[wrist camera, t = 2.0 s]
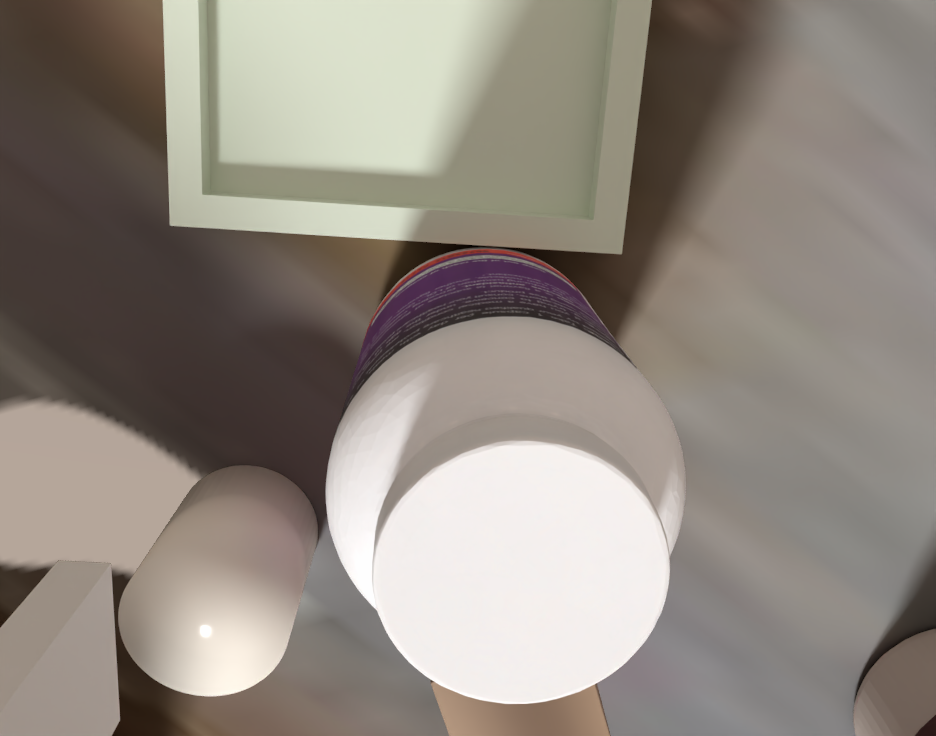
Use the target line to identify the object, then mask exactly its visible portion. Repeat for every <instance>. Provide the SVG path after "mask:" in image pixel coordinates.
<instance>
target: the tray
mask: <svg viewBox="0 0 936 736" xmlns="http://www.w3.org/2000/svg"><path fill="white" fill-rule="evenodd" d="M651 5H652V0H163V24H164V56H165V88H166V120H167V152H168V184H169V215H170V226H182V227H198V228H214V229H229V230H245V231H261V232H277V233H292V234H308V235H324V236H340V237H356V238H371V239H387V240H403V241H419V242H435V243H450V244H466V245H482V246H498V247H513V248H529V249H545V250H561V251H577V252H592V253H608V254H622V249H623V240H624V232H625V223H626V215H627V207H628V198H629V190H630V181H631V173H632V165H633V156H634V148H635V139H636V131H637V123H638V114H639V106H640V97H641V89H642V81H643V72H644V64H645V55H646V47H647V38H648V30H649V22H650V13H651Z"/></svg>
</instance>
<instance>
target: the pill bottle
mask: <svg viewBox="0 0 936 736" xmlns="http://www.w3.org/2000/svg"><path fill="white" fill-rule="evenodd" d="M685 494H686V478H685V465H684V459H683V453H682V448H681V444H680V441H679V438H678V434H677V432H676V429H675V427H674V424H673V422H672V420H671V417H670V415H669V413H668V411H667V409H666V407H665V406H664V404H663V402H662V401H661V399H660V397H659V396H658V395H657V393H656V392H655V390H654V389H653V388H652V386H651V385H650V384H649V382H648V381H647V380H646V379H645V377H644V376H643V375H642V374H641V372H640V371H639V370H638V369H637V367H636V366H635V365H634V363H633V362H632V361H631V360H630V358H629V357H628V356H627V354H626V353H625V352H624V350H623V349H622V348H621V347H620V345H619V344H618V343H617V341H616V340H615V339H614V337H613V336H612V335H611V333H610V332H609V331H608V329H607V328H606V327H605V325H604V324H603V322H602V321H601V320H600V318H599V317H598V315H597V314H596V313H595V311H594V310H593V309H592V307H591V306H590V304H589V303H588V301H587V300H586V299H585V297H584V296H583V295H582V293H581V292H580V291H579V290H578V289H577V288H576V287H575V285H574V284H573V283H572V282H571V281H570V280H569V279H568V278H566V277H565V276H564V275H563V274H562V273H560V272H559V271H558V270H556V269H555V268H553V267H552V266H550V265H549V264H547V263H545V262H543V261H542V260H540V259H537V258H535V257H533V256H530V255H528V254H525V253H522V252H519V251H515V250H510V249H505V248H498V247H474V248H464V249H459V250H455V251H451V252H448V253H445V254H442V255H439V256H437V257H434V258H432V259H430V260H428V261H426V262H424V263H422V264H421V265H419V266H417V267H416V268H414V269H413V270H411V271H410V272H409V273H408V274H406V275H405V276H404V277H403V278H402V279H400V280H399V281H398V282H397V283H396V285H395V286H394V287H393V288H392V289H391V290H390V292H389V293H388V294H387V295H386V296H385V298H384V299H383V301H382V302H381V303H380V305H379V306H378V308H377V310H376V312H375V314H374V316H373V318H372V320H371V322H370V324H369V327H368V329H367V332H366V335H365V339H364V342H363V346H362V349H361V353H360V356H359V359H358V362H357V365H356V369H355V372H354V375H353V379H352V382H351V385H350V389H349V392H348V395H347V398H346V402H345V405H344V408H343V412H342V415H341V418H340V421H339V424H338V427H337V430H336V434H335V437H334V440H333V444H332V447H331V453H330V458H329V462H328V470H327V477H326V507H327V516H328V523H329V528H330V532H331V535H332V538H333V542H334V545H335V548H336V550H337V553H338V555H339V558H340V560H341V562H342V564H343V566H344V568H345V570H346V571H347V573H348V575H349V577H350V578H351V580H352V581H353V583H354V584H355V586H356V587H357V589H358V590H359V591H360V593H361V594H362V595H363V596H364V597H365V598H366V599H367V600H368V602H369V603H370V604H371V605H372V606H373V607H374V608H375V609H376V610H377V611H378V614H379V616H380V619H381V621H382V623H383V625H384V628H385V630H386V632H387V634H388V635H389V637H390V639H391V640H392V642H393V643H394V645H395V646H396V648H397V649H398V650H399V651H400V652H401V654H402V655H403V656H404V657H405V658H406V659H407V660H408V662H409V663H411V664H412V665H413V666H414V667H415V668H416V669H418V670H419V671H420V672H421V673H423V674H424V675H425V676H426V677H428V678H429V679H431V680H432V681H434V682H436V683H437V684H439V685H440V686H443V687H445V688H447V689H450V690H452V691H454V692H457V693H459V694H461V695H464V696H467V697H471V698H475V699H478V700H483V701H489V702H496V703H503V704H529V703H538V702H546V701H550V700H554V699H558V698H562V697H565V696H568V695H571V694H574V693H577V692H580V691H582V690H584V689H586V688H588V687H590V686H592V685H594V684H596V683H598V682H599V681H601V680H603V679H604V678H606V677H608V676H609V675H611V674H612V673H614V672H615V671H616V670H617V669H619V668H620V667H621V666H622V665H624V664H625V663H626V662H627V661H628V660H629V659H630V658H631V657H632V656H633V655H634V653H635V652H636V651H637V650H638V649H639V648H640V647H641V646H642V644H643V643H644V642H645V641H646V639H647V638H648V636H649V635H650V633H651V632H652V630H653V628H654V626H655V624H656V622H657V620H658V618H659V616H660V614H661V612H662V609H663V606H664V603H665V599H666V595H667V591H668V585H669V578H670V555H671V553H672V550H673V548H674V545H675V542H676V540H677V537H678V534H679V530H680V526H681V522H682V518H683V513H684V507H685Z"/></svg>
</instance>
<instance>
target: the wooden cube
mask: <svg viewBox="0 0 936 736" xmlns="http://www.w3.org/2000/svg"><path fill="white" fill-rule="evenodd" d="M431 685H432V688H433V691H434V693H435V696H436V699H437V702H438V705H439V707H440V710H441V713H442V716H443V719H444V721H445V724H446V727H447V730H448V733H449V735H450V736H611V735H610V732H609V728H608V724H607V720H606V717H605V713H604V709H603V705H602V701H601V698H600V694H599V690H598V686H597V683H596V684H594V685H592V686H590V687H588V688H586V689H584V690H582V691H580V692H577V693H574V694H571V695H568V696H565V697H562V698H558V699H554V700H550V701H546V702H538V703H529V704H503V703H496V702H489V701H483V700H478V699H475V698H471V697H467V696H464V695H461V694H459V693H457V692H454V691H452V690H450V689H447V688H445V687H443V686H440V685H439V684H437V683H436V682H434V681H432V680H431Z"/></svg>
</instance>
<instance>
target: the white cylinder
mask: <svg viewBox="0 0 936 736" xmlns="http://www.w3.org/2000/svg"><path fill="white" fill-rule="evenodd" d="M317 540H318V523H317V518H316V515H315V512H314V509H313V507H312V505H311V503H310V501H309V499H308V498H307V497H306V495H305V494H304V493H303V491H302V490H301V489H300V488H299V487H298V486H297V485H296V484H294V483H293V482H292V481H291V480H289V479H288V478H286V477H285V476H283V475H281V474H279V473H277V472H275V471H272V470H270V469H267V468H263V467H258V466H250V465H238V466H230V467H226V468H222V469H219V470H217V471H214V472H212V473H210V474H209V475H207V476H205V477H204V478H202V479H201V480H200V481H198V482H197V483H196V485H194V486H193V487H192V489H191V490H190V491H189V493H188V494H187V495H186V497H185V498H184V500H183V501H182V503H181V504H180V506H179V507H178V509H177V511H176V512H175V513H174V515H173V517H172V518H171V519H170V521H169V522H168V524H167V525H166V527H165V529H164V530H163V531H162V533H161V535H160V536H159V537H158V539H157V540H156V542H155V543H154V545H153V546H152V548H151V550H150V551H149V552H148V554H147V556H146V557H145V559H144V560H143V561H142V563H141V564H140V566H139V567H138V569H137V570H136V572H135V573H134V575H133V576H132V578H131V579H130V581H129V582H128V584H127V586H126V588H125V590H124V592H123V594H122V597H121V600H120V605H119V610H118V623H119V630H120V634H121V637H122V641H123V643H124V645H125V647H126V649H127V651H128V653H129V654H130V656H131V657H132V659H133V660H134V661H135V662H136V664H137V665H138V666H139V667H140V668H141V669H142V670H143V671H144V672H145V673H146V674H148V675H149V676H150V677H152V678H153V679H154V680H156V681H158V682H159V683H161V684H163V685H165V686H167V687H169V688H171V689H174V690H177V691H180V692H183V693H187V694H192V695H198V696H221V695H228V694H232V693H236V692H240V691H242V690H245V689H248V688H249V687H251V686H253V685H255V684H257V683H258V682H260V681H261V680H263V679H264V678H265V677H266V676H268V675H269V674H270V673H271V672H272V671H273V670H274V668H275V667H276V666H277V665H278V663H279V662H280V660H281V658H282V657H283V655H284V652H285V650H286V647H287V644H288V641H289V637H290V634H291V630H292V627H293V624H294V620H295V617H296V613H297V610H298V607H299V603H300V600H301V596H302V593H303V589H304V586H305V583H306V579H307V576H308V572H309V569H310V566H311V562H312V559H313V555H314V552H315V548H316V544H317Z"/></svg>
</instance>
